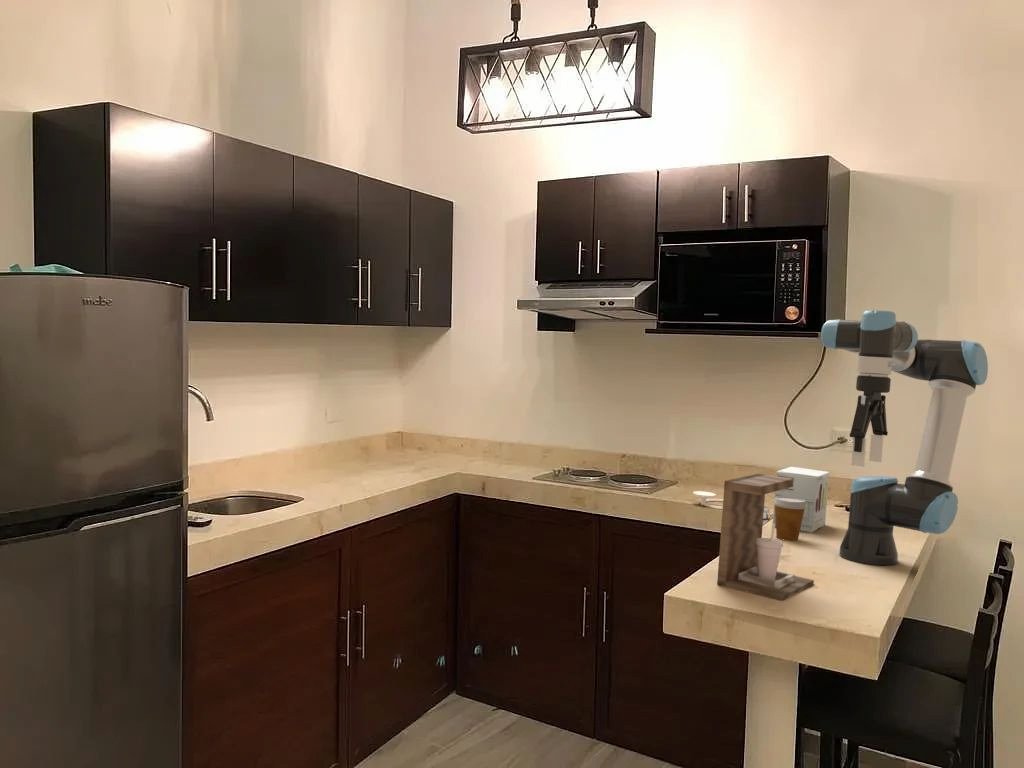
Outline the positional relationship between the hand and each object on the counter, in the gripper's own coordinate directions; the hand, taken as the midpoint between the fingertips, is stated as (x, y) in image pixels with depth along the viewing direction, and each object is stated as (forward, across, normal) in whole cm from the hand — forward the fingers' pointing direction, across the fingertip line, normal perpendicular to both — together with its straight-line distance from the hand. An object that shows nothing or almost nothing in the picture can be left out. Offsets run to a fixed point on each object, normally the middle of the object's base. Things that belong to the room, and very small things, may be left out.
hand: (866, 463), depth 209 cm
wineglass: (+31, +19, +34) cm, 50 cm away
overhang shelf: (+31, -14, +17) cm, 38 cm away
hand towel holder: (+31, +74, +71) cm, 107 cm away
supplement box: (+31, +64, +38) cm, 81 cm away
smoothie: (+30, -14, +17) cm, 37 cm away
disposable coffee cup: (+31, +42, +33) cm, 62 cm away
